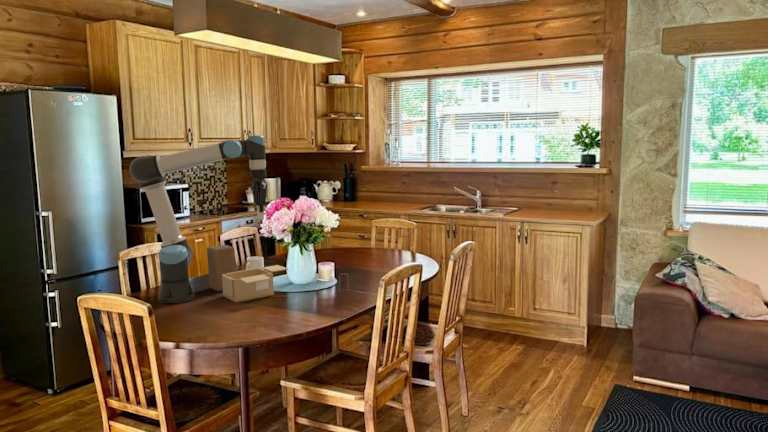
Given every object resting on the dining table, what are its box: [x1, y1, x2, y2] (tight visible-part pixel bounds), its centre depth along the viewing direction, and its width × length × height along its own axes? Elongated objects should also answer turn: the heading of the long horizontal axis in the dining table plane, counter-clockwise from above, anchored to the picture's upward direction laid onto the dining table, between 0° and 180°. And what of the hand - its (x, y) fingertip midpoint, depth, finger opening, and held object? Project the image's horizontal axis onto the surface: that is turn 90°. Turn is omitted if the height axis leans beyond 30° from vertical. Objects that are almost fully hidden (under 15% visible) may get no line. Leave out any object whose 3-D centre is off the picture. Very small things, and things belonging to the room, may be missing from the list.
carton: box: [222, 268, 275, 303], centre depth 261 cm, size 19×15×10 cm
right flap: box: [262, 264, 289, 273], centre depth 268 cm, size 8×10×1 cm
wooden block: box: [206, 244, 237, 292], centre depth 274 cm, size 10×10×20 cm
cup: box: [244, 255, 265, 270], centre depth 293 cm, size 8×12×10 cm
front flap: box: [240, 274, 270, 284], centre depth 251 cm, size 11×7×1 cm, turn 127°
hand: (260, 218), depth 274 cm, fingers closed
